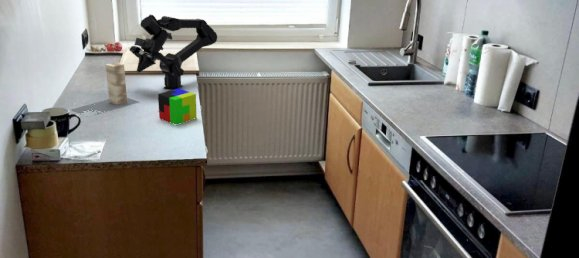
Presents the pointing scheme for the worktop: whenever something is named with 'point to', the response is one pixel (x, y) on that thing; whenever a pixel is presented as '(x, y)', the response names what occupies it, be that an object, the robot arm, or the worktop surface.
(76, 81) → the worktop surface
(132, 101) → the slate mat
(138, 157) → the worktop surface
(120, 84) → the birch block
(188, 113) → the puzzle toy
